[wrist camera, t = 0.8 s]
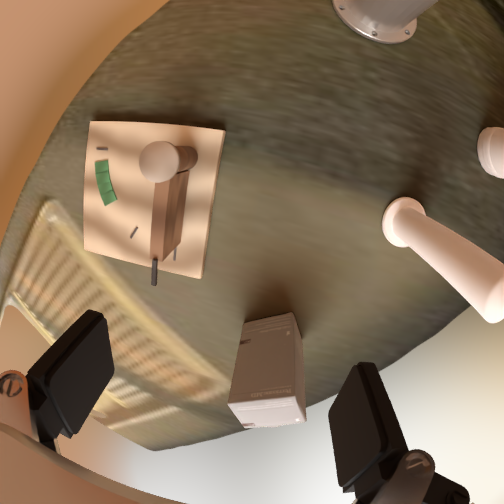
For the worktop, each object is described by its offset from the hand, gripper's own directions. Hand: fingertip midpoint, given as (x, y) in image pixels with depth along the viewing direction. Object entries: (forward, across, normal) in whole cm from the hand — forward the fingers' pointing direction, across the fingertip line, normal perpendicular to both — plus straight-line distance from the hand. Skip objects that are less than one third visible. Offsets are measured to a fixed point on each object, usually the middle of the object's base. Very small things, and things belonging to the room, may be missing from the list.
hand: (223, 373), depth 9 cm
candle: (+28, -20, -4) cm, 34 cm away
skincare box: (+29, -6, +18) cm, 35 cm away
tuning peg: (+26, +10, 0) cm, 28 cm away
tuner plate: (+28, +16, 0) cm, 32 cm away
